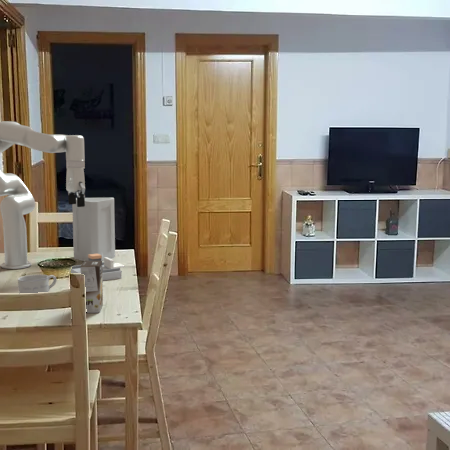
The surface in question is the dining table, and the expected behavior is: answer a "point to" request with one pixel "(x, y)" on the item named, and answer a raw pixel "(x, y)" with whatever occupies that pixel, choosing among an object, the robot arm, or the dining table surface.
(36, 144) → the robot arm
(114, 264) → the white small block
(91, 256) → the plug
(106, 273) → the socket
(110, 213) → the tall white carton
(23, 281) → the teacup
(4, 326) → the dining table surface
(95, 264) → the coffee box
